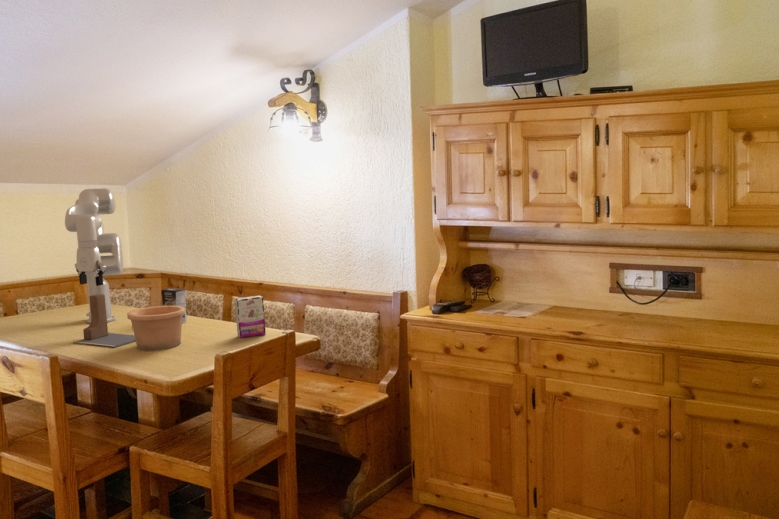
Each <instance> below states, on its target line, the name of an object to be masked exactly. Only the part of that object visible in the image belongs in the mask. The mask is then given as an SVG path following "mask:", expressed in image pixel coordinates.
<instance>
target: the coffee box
mask: <svg viewBox="0 0 779 519" xmlns="http://www.w3.org/2000/svg"><path fill="white" fill-rule="evenodd" d="M161 300H162V303H161V304H162V306H181V307H184V308H185V313H184V314H183V315H182V324H184V323H183V322H185V323H187V322H188V320H187V318H188V317H187V302H186V301H187V300H186V288H178V287H176V288H175V287H169V288H164V289H161ZM186 321H187V322H186Z"/></svg>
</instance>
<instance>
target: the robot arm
mask: <svg viewBox="0 0 779 519" xmlns="http://www.w3.org/2000/svg"><path fill="white" fill-rule="evenodd" d="M115 211H116V200H115V197H114V194H113V191H111V190H110V189H109V188H106V187H105V188H86V189H83V190H81V191H80V192H79V194H78V199H76V200H75V202H74V205H72V206H70V207H69V208H68V209H67V210H66V212H65V216H64V226H65V229H66V231H68V232H70V233H76V238H77V240H76V241H77V247H78V248H77V250H76V263H75V264H74V267H75V268H74V269H75V271H76V272H77V275H78V278H79V285H86V286H87V294H88V295H87V296H88V304H89V305H88V307H89V308H88V309H89V312H88V313H86V314H85V316H86V317H88V319H86V322H87V323H88V324H90V323H91V310H90V299H89V296H91V295H96V294H102V295H105V305H106V316H107V323H109V322H112V321H115V320H116V316H114V315H112V305H111V294H110V293H111V292H110V284H109V282H108V281H107V280H106V279H105V278H104V276H115V275H116V276H117V275H121V274H122V273H123V272H124V259H123V258H124V257H123V249H122V248H123V247H122V240H121V237H120V235H119V234H118V233H114V232H109V233H108V232H107V233H105V232H104V224H103V219H102V217H101V216H100V215H111V214H114V213H115ZM101 254H111V255H101Z"/></svg>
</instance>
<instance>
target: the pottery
mask: <svg viewBox="0 0 779 519" xmlns="http://www.w3.org/2000/svg"><path fill="white" fill-rule="evenodd" d="M184 313H185V308H184V307H181V306H163V305H158V306H156V305H155V306H149V307H142V308H137V309H134V310H131V311H129V312H127V314H126V315H127V316H126V317H127V320H129V321H131V326H132V330H133V335H135V339H136V342H135V343H136V348H137V349H138V350H139V351H144V352H155V351H156V350H157V351H163V350H164V349H165V350H169V349H173V348H176V347H178V346H179V345H181V343H182V329H183V328H182V327H183V323H182V315H183V314H184Z"/></svg>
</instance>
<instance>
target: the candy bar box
mask: <svg viewBox="0 0 779 519" xmlns="http://www.w3.org/2000/svg"><path fill="white" fill-rule="evenodd" d="M264 306H265V305H264V296H263V295H254V296H253V295H252V296H245V297H237V298H234V307H235V309H234V310H235V318H236V319H235V320H236V321H235V322H236V332H237V333H236V334H237V337H238V338H239V339H244V338H250V337H251V338H252V337H258V336H259V337H260V336H264V335H266V320H265V307H264Z"/></svg>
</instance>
